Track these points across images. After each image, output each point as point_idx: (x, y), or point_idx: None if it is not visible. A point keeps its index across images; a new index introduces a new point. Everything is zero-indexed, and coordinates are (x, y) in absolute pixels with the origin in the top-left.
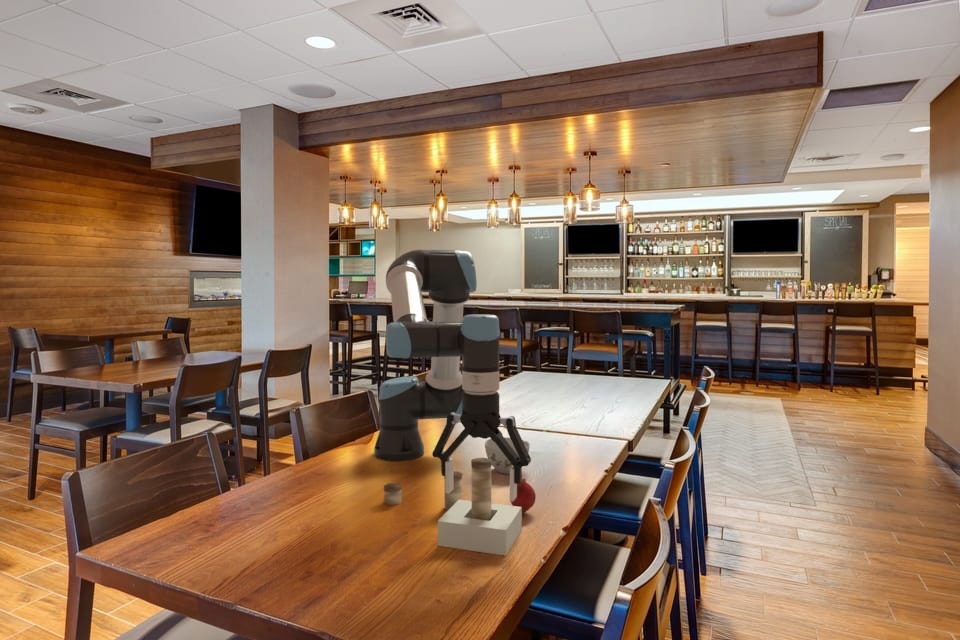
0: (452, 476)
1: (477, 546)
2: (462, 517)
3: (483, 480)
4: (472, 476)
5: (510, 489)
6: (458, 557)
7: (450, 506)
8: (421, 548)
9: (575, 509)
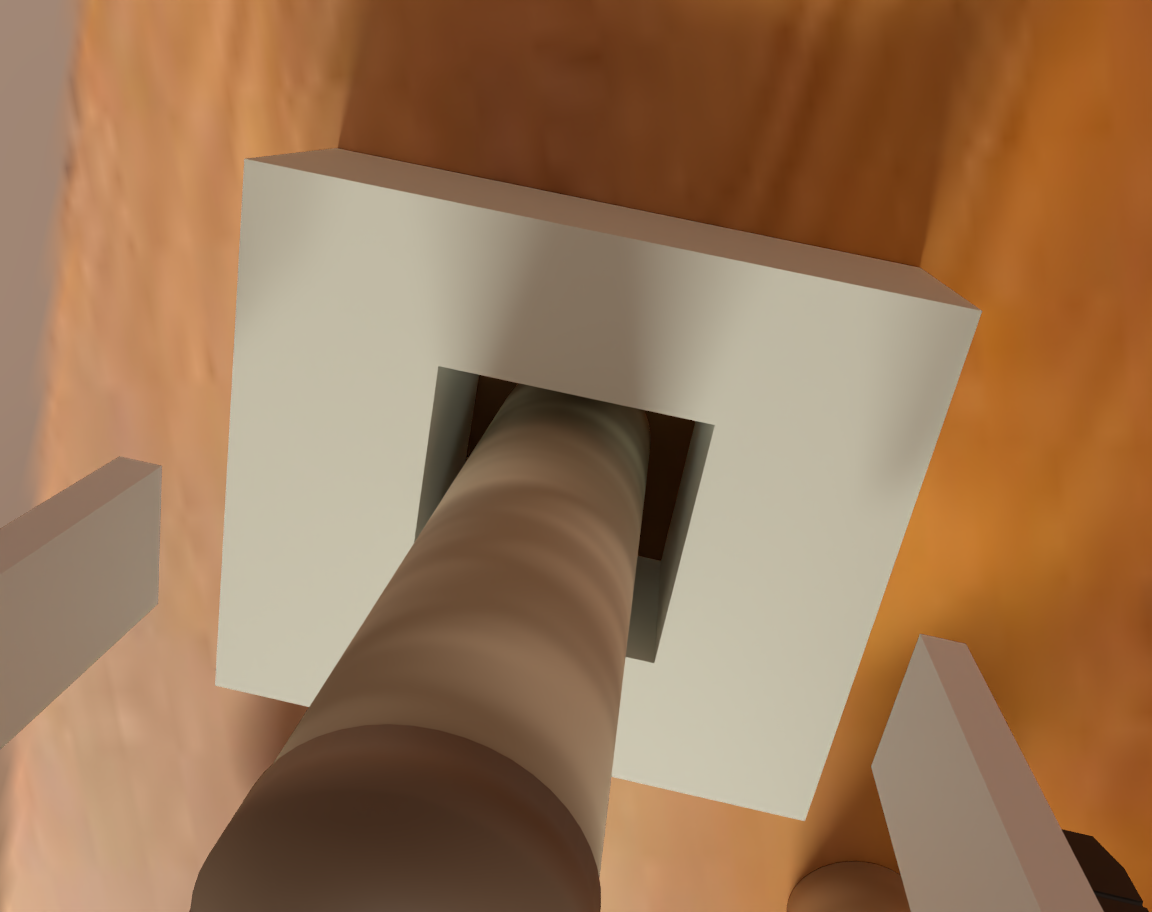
0: (920, 864)
1: (568, 201)
2: (723, 422)
3: (406, 617)
4: (585, 705)
5: (68, 518)
6: (719, 71)
7: (877, 892)
8: (1065, 202)
9: (10, 900)
